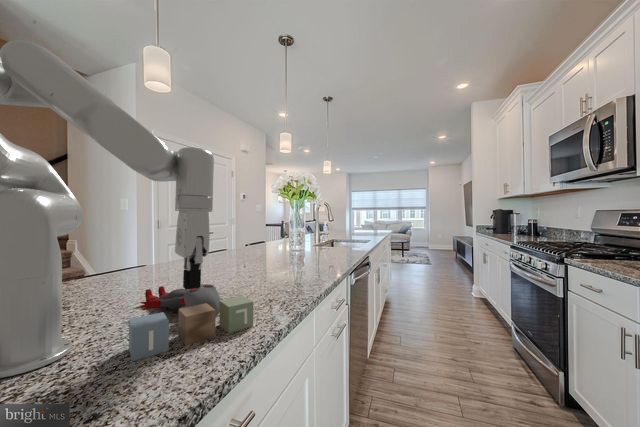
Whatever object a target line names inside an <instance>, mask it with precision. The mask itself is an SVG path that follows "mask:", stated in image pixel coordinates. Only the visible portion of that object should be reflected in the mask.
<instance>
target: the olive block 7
mask: <svg viewBox="0 0 640 427" xmlns="http://www.w3.org/2000/svg"><path fill="white" fill-rule="evenodd" d="M218 315H219V321H218V322H219V326H220V327H221V328H222V329H224V330H225V332H226V333H228V334H231V333H235V332H237V331H241V330H245V329H248V328H251V327H254V301H253V300H252V299H250V298H247V297H245V296H244V295H239V296H235V297H231V298H226V299H220V301H219V314H218Z"/></svg>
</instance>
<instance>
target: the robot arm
mask: <svg viewBox="0 0 640 427" xmlns="http://www.w3.org/2000/svg"><path fill="white" fill-rule="evenodd" d="M0 105H3V106H4V105H6V106H20V107H21V106H22V107H35V108H49V109H51V111H54V113H56V114H58V115H59V116H60V117H61V118H62V119H63V120H65V121H67V122H68V123H69V124H70V125H72V126H73V127H74V128H76V130H79V132H81V133H83V134H85V135H86V136H88V137H89V138H91V139H92V140H93V141H94V142H96V143H97V144H98V145H99V146H101V147H102V148H104V149H105V150H106V151H107V152H109V153H110V154H112V155H113V156H114V157H115V158H117V159H118V160H120V162H122V163H124V165H126V166H127V167H128V168H130V169H131V170H132V171H135V173H137V174H140V175H141V176H143V177H145V178H147V179H149V180H151V181H154V182H175V199H174V200H175V202H174V205H175V206H174V210H175V212H178V214H177V215H178V216H177V222H176V233H175V234H176V235H175V243H174V244H175V245H174V251H175V252H174V253H175V254H176V255H177V256H180V257H181V258H183V272H182V273H183V274H182V275H183V277H182V280H183V281H182V287H183V288H182V289H186V290H188V289H194V288H200V286H201V284H202V283H201V282H202V281H201V280H202V265H203V262H204V261H203V259H204V258H206V257H207V256H208V255H209V252H210V213H213V206H214V204H213V203H214V202H213V200H214V198H213V196H214V174H215V173H214V166H215V158H214V154H213V153H212V152H211V151H210V150H207V149H204V148H201V147H200V148H199V147H189V146H188V147H183V148H180V149H178V150H177V151H175V150H172V149H171V148H169V146H167V145H166V144H165V142H164V141H162V140H161V139H160V138H159V137H158V136H156V135H155V134H153V133H152V132H151V131H150V130H149V129H147V128H146V127H145V126H144V125H142V124H141V123H140V122H139V121H137V120H136V119H135V118H134V117H133V116H132V115H130V114H129V113H128V112H127V111H125V110H123V109H122V108H121V106H119V105H117V104H116V103H115V101H113V99H111V98H109V96H107V95H106V94H105V93H103V92H102V91H101V90H100V89H99V88H97V87H96V86H95V85H94V84H92V83H91V82H90V81H89V80H87V79H86V78H85V77H83V76H82V75H81V74H80V73H79V72H77V71H76V70H75V69H73V68H72V67H71V66H70V65H68V64H67V63H66V62H65V61H64V60H62V59H61V58H60V57H59V56H57V55H56V54H55V53H53V52H52V51H51V50H49V49H48V48H46V47H44V46H42V45H41V44H38V43H36V42H33V41H31V40H30V41H29V40H24V39H23V40H22V39H15V40H11V41H7V42H6V43H4V44H3V45H2V46H1V47H0ZM66 184H67V183H65V181H64V180H63V179H62V178H61V176H60V175H59V174H58V172H57V171H56V170H55V169H54V167H53V166H52V165H51V164H50V162H48V161H47V160H46V159H45V158H44V157H42V156H41V155H40V154H39V153H36V152H34V151H33V150H30V149H29V148H26V147H23V146H20V145H17V144H15V143H14V142H11V141H10V140H8V139H7V138H6V137H5V136H4V135H3V134H2V133H1V132H0V379H3V378H8V377H9V378H10V377H13V376H17V375H22V374H24V373H27V372H31V371H34V370H36V369H39V368H42V367H45V366H47V365H50V364H52V363H55V362H56V361H59V360H60V359H62V358H63V357H65V356H66V355H68V354H69V353H70V352H71V350H72V349H73V342H72V341H71V340H70V339H68V338H62V335H63V334H62V328H63V326H62V317H63V311H62V310H63V307H62V306H63V302H62V301H63V261H62V260H63V258H62V251H61V247H60V243H59V241H58V237H62V236H66V235H69V234H71V233H74V232H75V231H76V230H77V229H78V228H79V227H80V226H81V224H82V222H83V220H84V210H83V208H82V205H81V204H80V202H79V201H78V199H77V197H76V196H75V195H74V193H73V192H72V191H71V189H69V186H67V185H66ZM203 257H204V258H203Z"/></svg>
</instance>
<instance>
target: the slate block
mask: <svg viewBox="0 0 640 427" xmlns="http://www.w3.org/2000/svg"><path fill="white" fill-rule="evenodd" d="M169 346H170V320H169V318H168V317H167V316H166V313H165V312H157V313H152V314H148V315H141V316H137V317H133V318H129V319H128V351H129V354H130V355H129V356H130V360H131V361H137V360H140V359H144V358H147V357H151V356H154V355H157V354H162V353H165V352H168V351H170V347H169Z"/></svg>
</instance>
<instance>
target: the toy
mask: <svg viewBox="0 0 640 427" xmlns="http://www.w3.org/2000/svg"><path fill="white" fill-rule="evenodd" d="M157 292H158V296H156V295H153V292H152V290H151V289H150V288H149V289H145V293H144V294H145V301H140V304H141V305H140V306H139V307H140V308H142V311H146V310H155V309H156V310H157V309H162V308H165V307H167V308H168V309H170V310H179V309H181V308H186V307H191V306H196V305H201V304H205V303H207V304H208V305H210V306H211V307H212V308H214V309H215V319H216V318H217V317H218V315H219V301H220V300H221V297H220V294H219V292H218V290H217V288H216V286H215V285H214V284H210V283H209V284H208V283H206V284H205V283H203V284H202V283H201V286H200V288H194V289H187V290H186V289H185V288H176V289H174V290H172V291H170V292H166V290H165V287H164V286H159V287H158V289H157Z"/></svg>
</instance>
